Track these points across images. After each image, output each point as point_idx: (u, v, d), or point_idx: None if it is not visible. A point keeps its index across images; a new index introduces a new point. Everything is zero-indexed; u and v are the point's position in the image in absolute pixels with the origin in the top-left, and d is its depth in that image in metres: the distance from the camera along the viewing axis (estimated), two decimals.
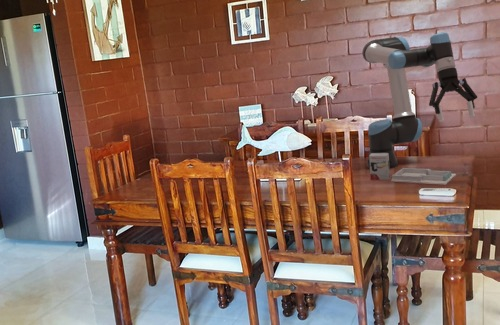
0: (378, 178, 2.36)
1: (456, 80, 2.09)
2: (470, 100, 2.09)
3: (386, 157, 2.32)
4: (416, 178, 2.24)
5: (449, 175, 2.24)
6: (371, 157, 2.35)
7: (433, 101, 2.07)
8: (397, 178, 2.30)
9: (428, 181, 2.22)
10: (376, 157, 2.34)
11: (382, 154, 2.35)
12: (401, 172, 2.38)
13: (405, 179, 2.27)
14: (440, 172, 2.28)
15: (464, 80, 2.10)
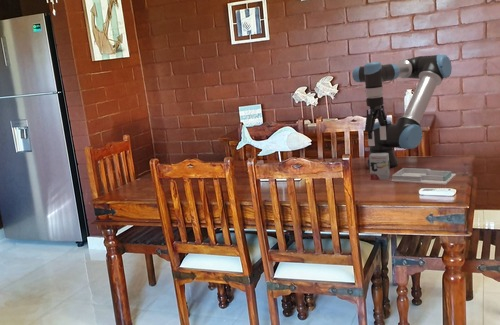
0: (378, 178, 2.36)
1: None
2: None
3: (386, 157, 2.32)
4: (416, 178, 2.24)
5: (449, 175, 2.24)
6: (371, 157, 2.35)
7: None
8: (397, 178, 2.30)
9: (428, 181, 2.22)
10: (376, 157, 2.34)
11: (382, 154, 2.35)
12: (401, 172, 2.38)
13: (405, 179, 2.27)
14: (440, 172, 2.28)
15: None
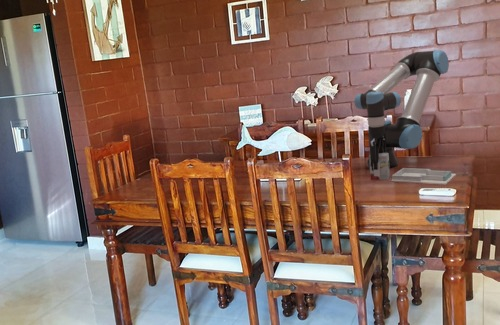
0: (378, 178, 2.36)
1: None
2: None
3: (386, 157, 2.32)
4: (416, 178, 2.24)
5: (449, 175, 2.24)
6: None
7: None
8: (397, 178, 2.30)
9: (428, 181, 2.22)
10: None
11: (382, 154, 2.35)
12: (401, 172, 2.38)
13: (405, 179, 2.27)
14: (440, 172, 2.28)
15: None
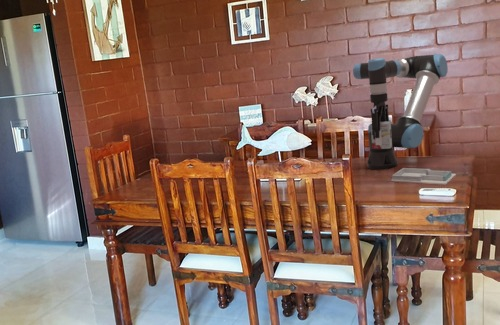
0: (380, 147, 2.32)
1: None
2: None
3: (388, 125, 2.28)
4: (416, 178, 2.24)
5: (449, 175, 2.24)
6: None
7: None
8: (397, 178, 2.30)
9: (428, 181, 2.22)
10: None
11: (384, 122, 2.31)
12: (401, 172, 2.38)
13: (405, 179, 2.27)
14: (440, 172, 2.28)
15: None
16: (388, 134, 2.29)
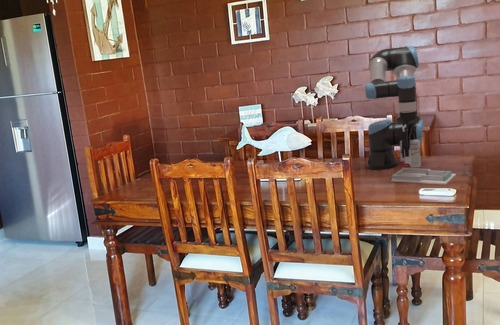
0: (409, 165, 2.29)
1: None
2: None
3: (418, 143, 2.26)
4: (416, 178, 2.24)
5: (449, 175, 2.24)
6: None
7: None
8: (397, 178, 2.30)
9: (428, 181, 2.22)
10: None
11: (413, 140, 2.28)
12: (401, 172, 2.38)
13: (405, 179, 2.27)
14: (440, 172, 2.28)
15: None
16: (418, 152, 2.27)
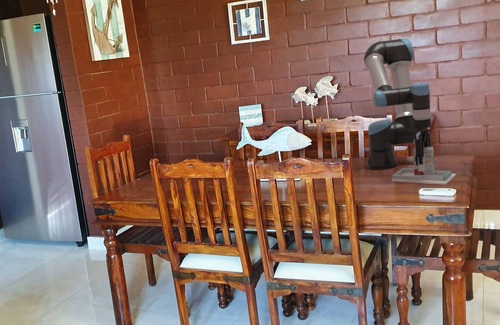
0: (422, 173, 2.26)
1: None
2: None
3: (431, 151, 2.23)
4: (416, 178, 2.24)
5: (449, 175, 2.24)
6: (415, 151, 2.25)
7: None
8: (397, 178, 2.30)
9: (428, 181, 2.22)
10: None
11: (427, 148, 2.25)
12: (401, 172, 2.38)
13: (405, 179, 2.27)
14: (440, 172, 2.28)
15: None
16: (432, 160, 2.24)
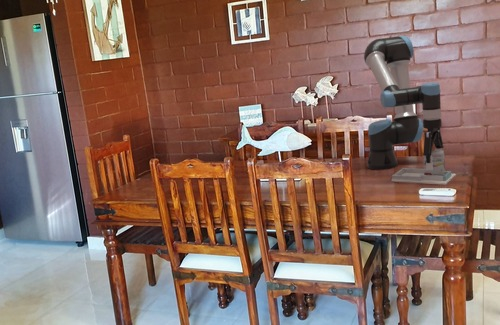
0: None
1: None
2: None
3: (442, 155, 2.21)
4: (416, 178, 2.24)
5: (449, 175, 2.24)
6: None
7: None
8: (397, 178, 2.30)
9: (428, 181, 2.22)
10: None
11: (437, 152, 2.23)
12: (401, 172, 2.38)
13: (405, 179, 2.27)
14: None
15: None
16: (442, 164, 2.22)
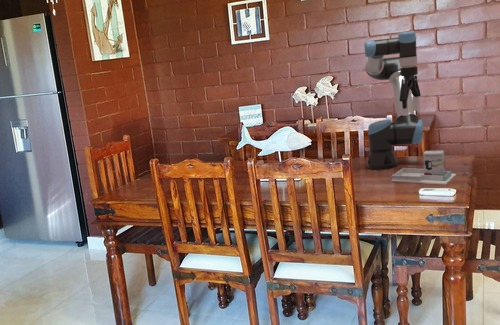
0: None
1: None
2: None
3: (442, 155, 2.21)
4: (416, 178, 2.24)
5: (449, 175, 2.24)
6: (425, 155, 2.23)
7: None
8: (397, 178, 2.30)
9: (428, 181, 2.22)
10: (431, 155, 2.22)
11: (437, 152, 2.23)
12: (401, 172, 2.38)
13: (405, 179, 2.27)
14: None
15: None
16: (442, 164, 2.22)
